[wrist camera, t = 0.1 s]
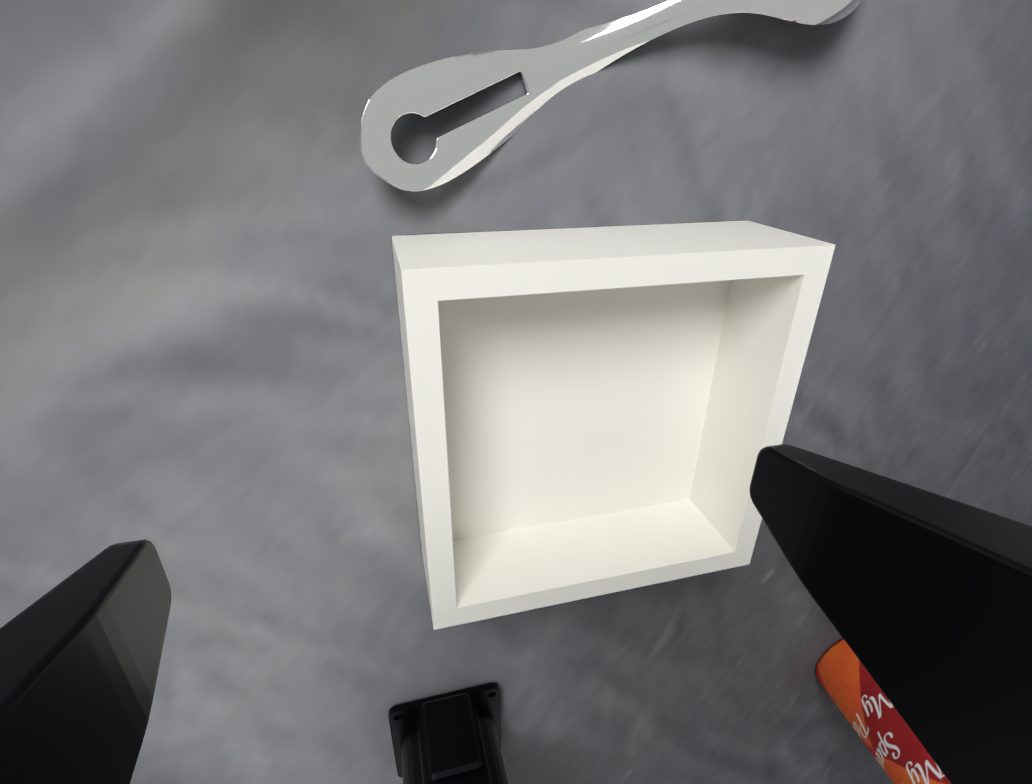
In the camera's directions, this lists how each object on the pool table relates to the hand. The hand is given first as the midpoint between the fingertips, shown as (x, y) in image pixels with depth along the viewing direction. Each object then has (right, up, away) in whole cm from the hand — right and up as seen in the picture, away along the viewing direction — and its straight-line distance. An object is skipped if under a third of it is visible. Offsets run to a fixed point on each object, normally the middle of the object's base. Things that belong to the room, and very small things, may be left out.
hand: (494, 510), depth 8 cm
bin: (+3, +2, +17) cm, 17 cm away
